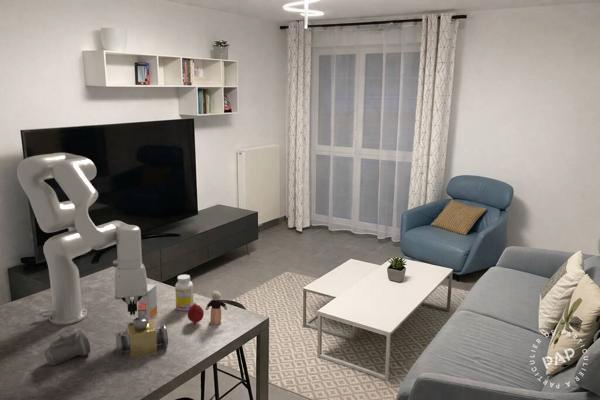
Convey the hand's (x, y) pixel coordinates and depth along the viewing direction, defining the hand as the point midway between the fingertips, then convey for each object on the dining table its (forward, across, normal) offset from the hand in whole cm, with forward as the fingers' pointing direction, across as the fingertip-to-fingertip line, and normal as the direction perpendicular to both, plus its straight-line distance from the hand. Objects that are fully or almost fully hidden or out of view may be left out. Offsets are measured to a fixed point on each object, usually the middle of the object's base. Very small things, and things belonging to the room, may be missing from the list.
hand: (132, 313), depth 163 cm
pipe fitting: (+9, -19, -10) cm, 23 cm away
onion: (+9, +21, +4) cm, 23 cm away
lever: (0, +3, -4) cm, 5 cm away
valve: (+8, +3, -10) cm, 13 cm away
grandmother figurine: (+8, +29, +2) cm, 30 cm away
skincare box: (+9, +5, +13) cm, 16 cm away
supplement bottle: (+9, +18, +18) cm, 27 cm away
